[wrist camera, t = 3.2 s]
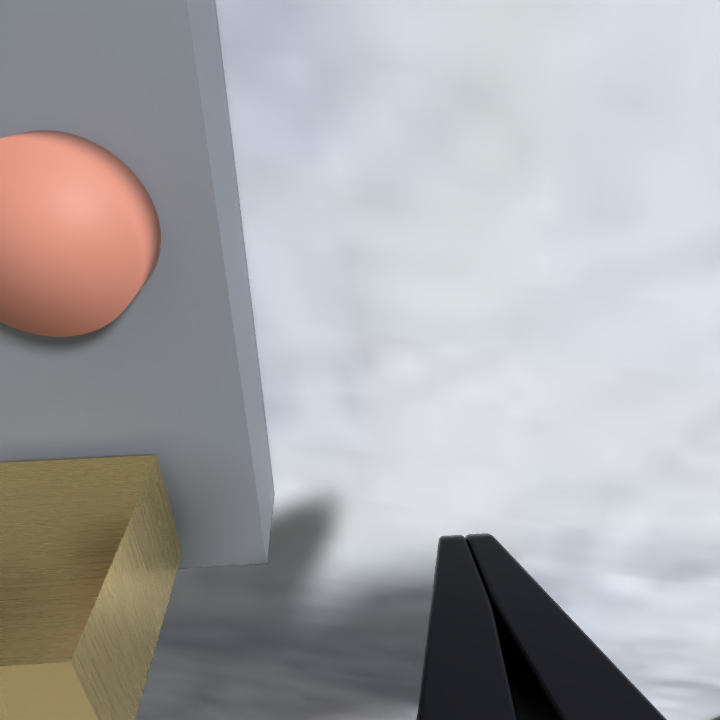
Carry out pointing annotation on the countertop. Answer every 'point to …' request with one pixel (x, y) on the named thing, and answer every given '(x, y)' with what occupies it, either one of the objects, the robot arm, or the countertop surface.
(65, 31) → the panel
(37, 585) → the brushed brass brick
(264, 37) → the countertop surface
